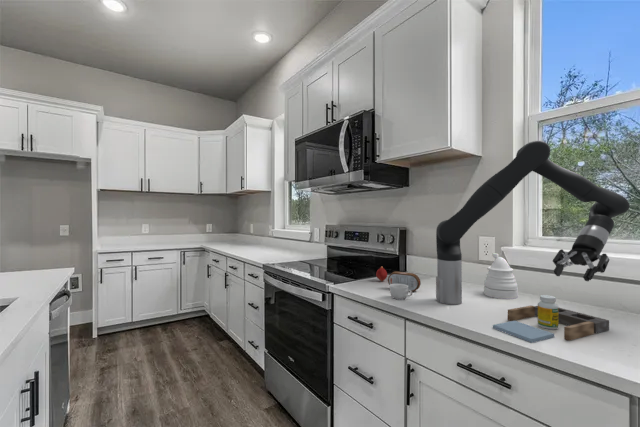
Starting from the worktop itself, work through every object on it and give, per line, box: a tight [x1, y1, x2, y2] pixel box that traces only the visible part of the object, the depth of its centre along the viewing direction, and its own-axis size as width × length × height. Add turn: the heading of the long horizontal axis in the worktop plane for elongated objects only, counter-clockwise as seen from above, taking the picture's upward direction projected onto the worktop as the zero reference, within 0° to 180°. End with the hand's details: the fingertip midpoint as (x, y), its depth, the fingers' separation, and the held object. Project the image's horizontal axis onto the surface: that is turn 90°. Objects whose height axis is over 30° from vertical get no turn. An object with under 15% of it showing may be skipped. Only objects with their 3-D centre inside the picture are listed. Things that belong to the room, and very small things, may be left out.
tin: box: [387, 270, 422, 292], centre depth 145 cm, size 15×3×8 cm, turn 58°
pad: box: [492, 320, 555, 344], centre depth 93 cm, size 10×12×1 cm
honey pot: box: [483, 252, 519, 300], centre depth 136 cm, size 13×13×18 cm
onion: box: [375, 266, 388, 282], centre depth 164 cm, size 6×6×8 cm
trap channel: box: [507, 305, 610, 342], centre depth 100 cm, size 20×18×4 cm
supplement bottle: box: [537, 294, 560, 330], centre depth 98 cm, size 5×5×10 cm
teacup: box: [389, 284, 413, 301], centre depth 131 cm, size 10×8×5 cm
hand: (570, 277), depth 102 cm, fingers open, 8 cm apart
